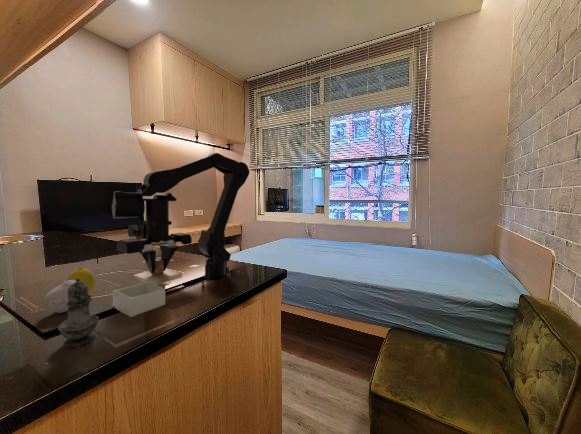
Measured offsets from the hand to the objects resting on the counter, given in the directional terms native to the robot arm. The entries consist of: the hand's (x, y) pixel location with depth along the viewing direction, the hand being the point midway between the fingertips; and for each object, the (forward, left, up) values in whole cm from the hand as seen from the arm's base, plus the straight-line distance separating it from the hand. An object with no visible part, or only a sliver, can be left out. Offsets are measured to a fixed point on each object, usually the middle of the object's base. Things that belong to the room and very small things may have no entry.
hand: (157, 271), depth 74 cm
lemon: (+15, -9, -5) cm, 18 cm away
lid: (0, 0, -2) cm, 2 cm away
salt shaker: (+23, +13, -5) cm, 27 cm away
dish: (+9, +8, -5) cm, 13 cm away
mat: (0, 0, -5) cm, 5 cm away
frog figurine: (+20, -3, -5) cm, 21 cm away
